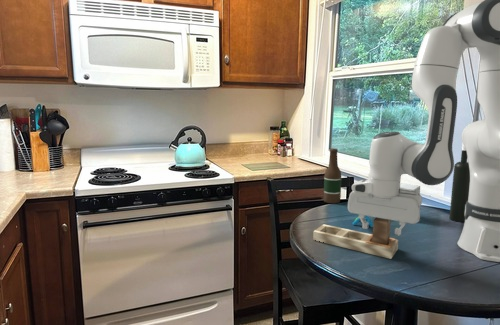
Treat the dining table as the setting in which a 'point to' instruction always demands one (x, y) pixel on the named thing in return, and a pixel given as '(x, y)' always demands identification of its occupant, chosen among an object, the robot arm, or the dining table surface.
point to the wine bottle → (460, 188)
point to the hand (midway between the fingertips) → (381, 231)
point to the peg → (381, 231)
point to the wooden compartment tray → (354, 241)
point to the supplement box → (410, 187)
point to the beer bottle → (332, 180)
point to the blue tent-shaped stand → (365, 219)
